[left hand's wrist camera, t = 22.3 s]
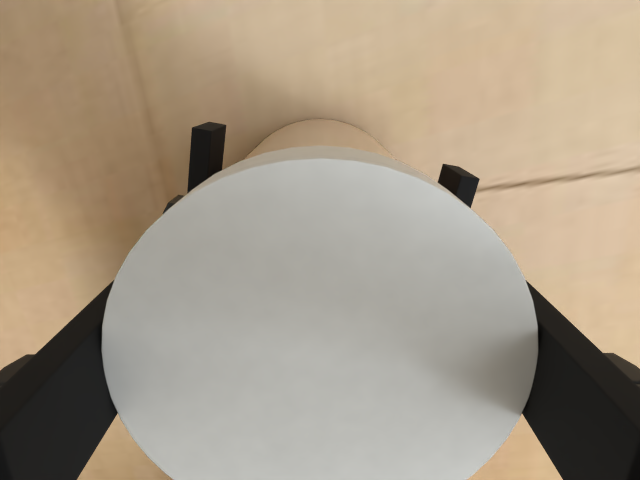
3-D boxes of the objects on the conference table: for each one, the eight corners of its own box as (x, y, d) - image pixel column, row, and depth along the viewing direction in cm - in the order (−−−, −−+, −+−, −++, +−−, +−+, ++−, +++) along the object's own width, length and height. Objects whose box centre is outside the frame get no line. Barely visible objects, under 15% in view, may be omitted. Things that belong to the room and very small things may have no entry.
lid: (584, 302, 12) (632, 341, 10) (347, 516, 15) (351, 577, 13) (277, 50, 10) (268, 42, 8) (68, 359, 13) (26, 407, 11)
